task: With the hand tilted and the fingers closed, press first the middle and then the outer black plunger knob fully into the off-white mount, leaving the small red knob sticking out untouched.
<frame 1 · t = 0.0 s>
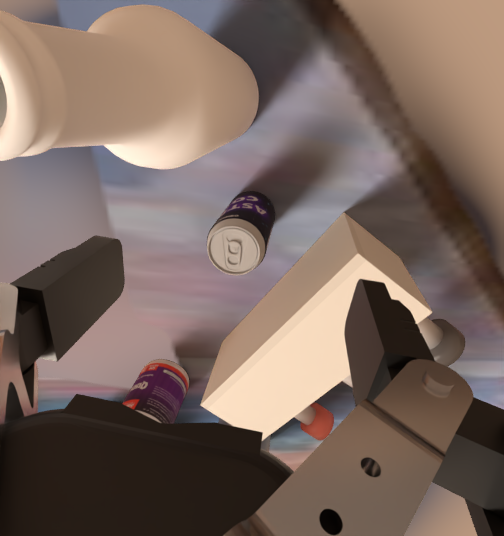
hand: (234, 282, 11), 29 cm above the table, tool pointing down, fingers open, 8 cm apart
mount: (326, 322, 46), on the table
beverage can: (252, 212, 41), on the table
red knob: (296, 407, 44), point 7 cm above the table, slide at 5.0 cm
pill bottle: (168, 373, 55), on the table
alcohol: (219, 98, 36), on the table
knob a: (414, 325, 36), point 7 cm above the table, slide at 6.0 cm
knob b: (352, 372, 40), point 7 cm above the table, slide at 6.0 cm
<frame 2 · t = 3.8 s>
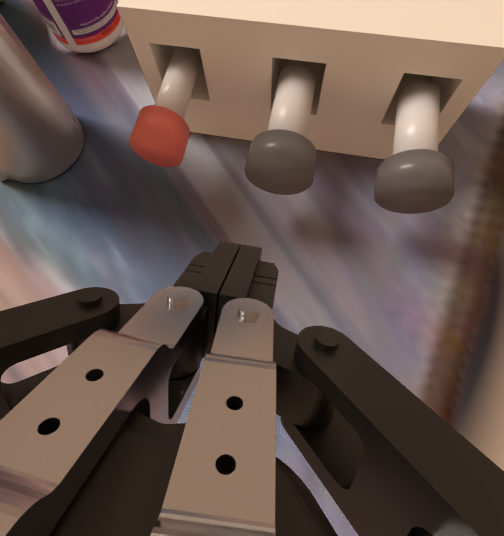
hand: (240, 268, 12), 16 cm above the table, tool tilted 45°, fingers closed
mount: (289, 146, 33), on the table
red knob: (172, 102, 27), point 7 cm above the table, slide at 5.0 cm
pill bottle: (93, 34, 39), on the table
knob a: (415, 143, 25), point 7 cm above the table, slide at 6.0 cm
knob b: (288, 126, 25), point 7 cm above the table, slide at 6.0 cm
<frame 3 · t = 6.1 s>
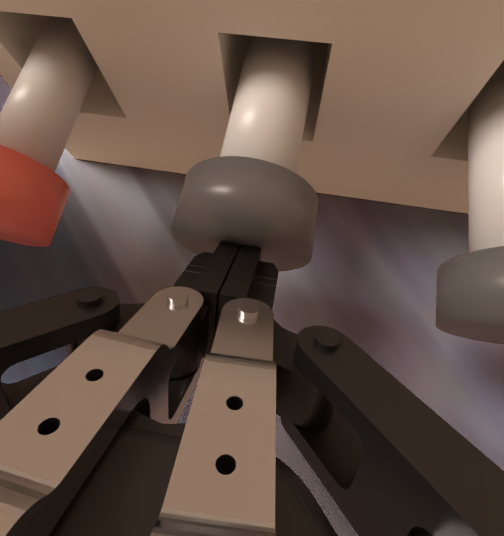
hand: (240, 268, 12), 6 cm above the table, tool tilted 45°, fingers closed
mount: (270, 186, 20), on the table
red knob: (37, 124, 14), point 7 cm above the table, slide at 5.0 cm
knob b: (262, 143, 13), point 7 cm above the table, slide at 4.7 cm, touching gripper
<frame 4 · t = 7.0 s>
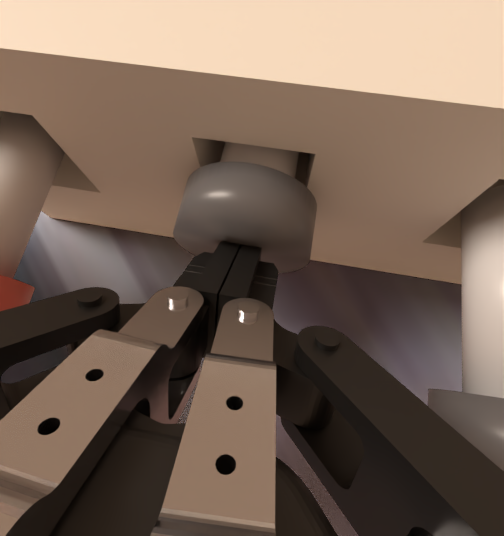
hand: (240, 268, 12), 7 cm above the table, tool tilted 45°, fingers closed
mount: (256, 251, 20), on the table
knob b: (262, 148, 13), point 7 cm above the table, slide at 0.4 cm, touching gripper
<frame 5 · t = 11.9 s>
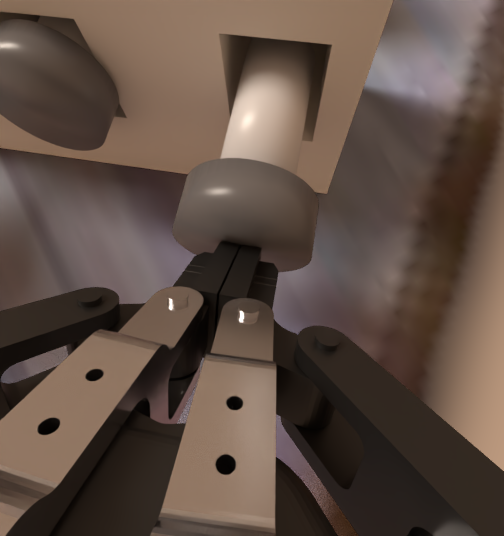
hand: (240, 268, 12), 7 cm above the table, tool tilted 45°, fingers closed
mount: (125, 165, 21), on the table
knob a: (262, 144, 13), point 7 cm above the table, slide at 4.8 cm, touching gripper
knob b: (79, 35, 15), point 7 cm above the table, slide at 0.1 cm
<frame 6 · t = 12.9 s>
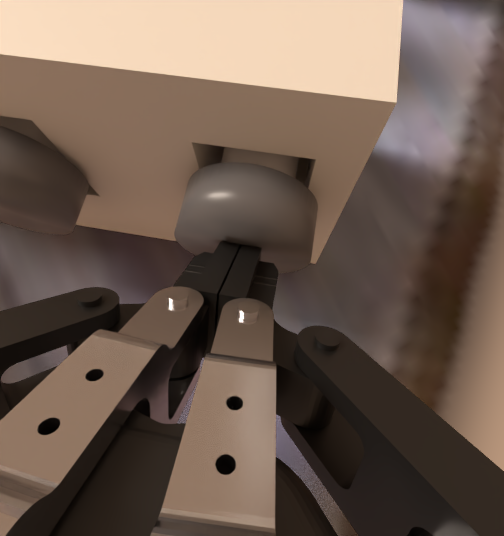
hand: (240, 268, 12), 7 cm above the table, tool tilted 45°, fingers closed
mount: (103, 229, 20), on the table
knob a: (263, 148, 13), point 7 cm above the table, slide at 0.3 cm, touching gripper
knob b: (46, 114, 14), point 7 cm above the table, slide at 0.1 cm
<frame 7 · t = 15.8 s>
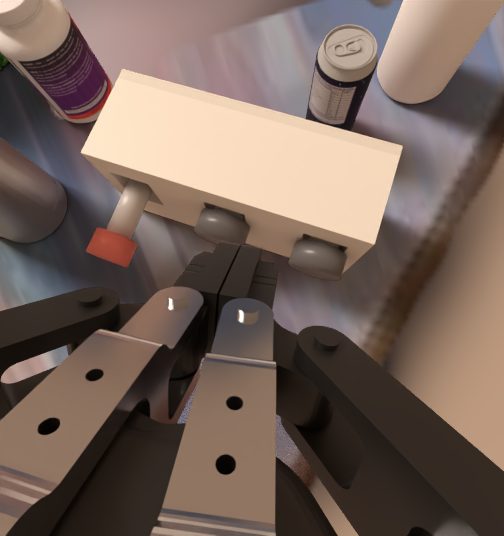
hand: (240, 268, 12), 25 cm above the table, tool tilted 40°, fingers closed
mount: (234, 239, 39), on the table
beverage can: (326, 130, 42), on the table
red knob: (127, 215, 33), point 7 cm above the table, slide at 5.0 cm
pill bottle: (87, 101, 44), on the table
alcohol: (408, 79, 43), on the table
knob a: (328, 226, 31), point 7 cm above the table, slide at 0.1 cm
knob b: (234, 197, 33), point 7 cm above the table, slide at 0.1 cm
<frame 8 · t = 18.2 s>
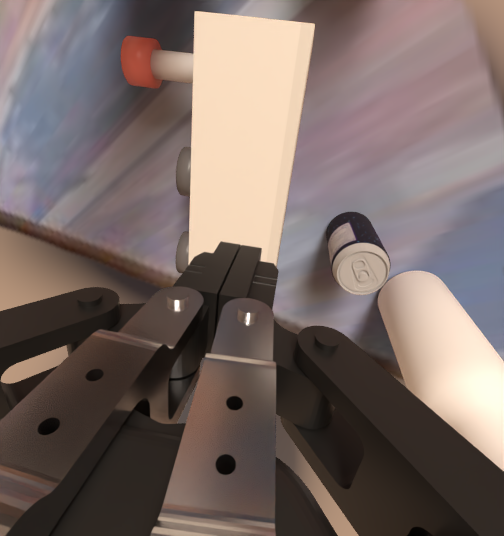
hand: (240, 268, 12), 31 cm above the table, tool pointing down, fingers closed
mount: (220, 163, 41), on the table
beverage can: (348, 230, 43), on the table
red knob: (179, 67, 31), point 7 cm above the table, slide at 5.0 cm
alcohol: (409, 295, 46), on the table
knob a: (219, 258, 39), point 7 cm above the table, slide at 0.1 cm
knob b: (225, 177, 35), point 7 cm above the table, slide at 0.1 cm
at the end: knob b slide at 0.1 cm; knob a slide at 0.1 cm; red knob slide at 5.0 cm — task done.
